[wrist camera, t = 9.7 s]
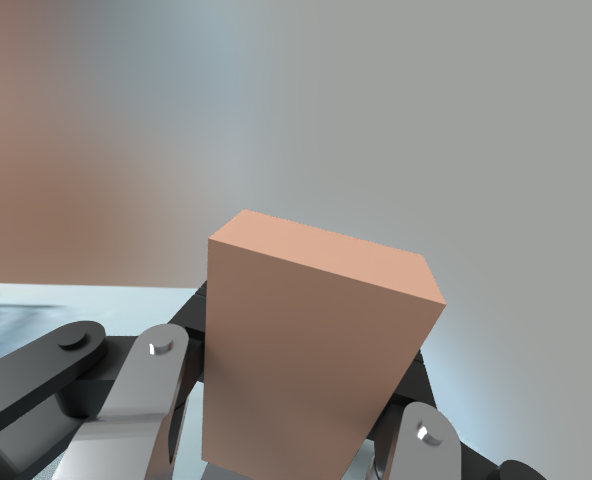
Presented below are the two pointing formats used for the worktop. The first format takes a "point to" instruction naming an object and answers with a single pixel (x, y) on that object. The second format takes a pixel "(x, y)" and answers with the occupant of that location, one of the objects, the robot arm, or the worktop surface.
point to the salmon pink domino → (304, 344)
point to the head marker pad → (221, 474)
